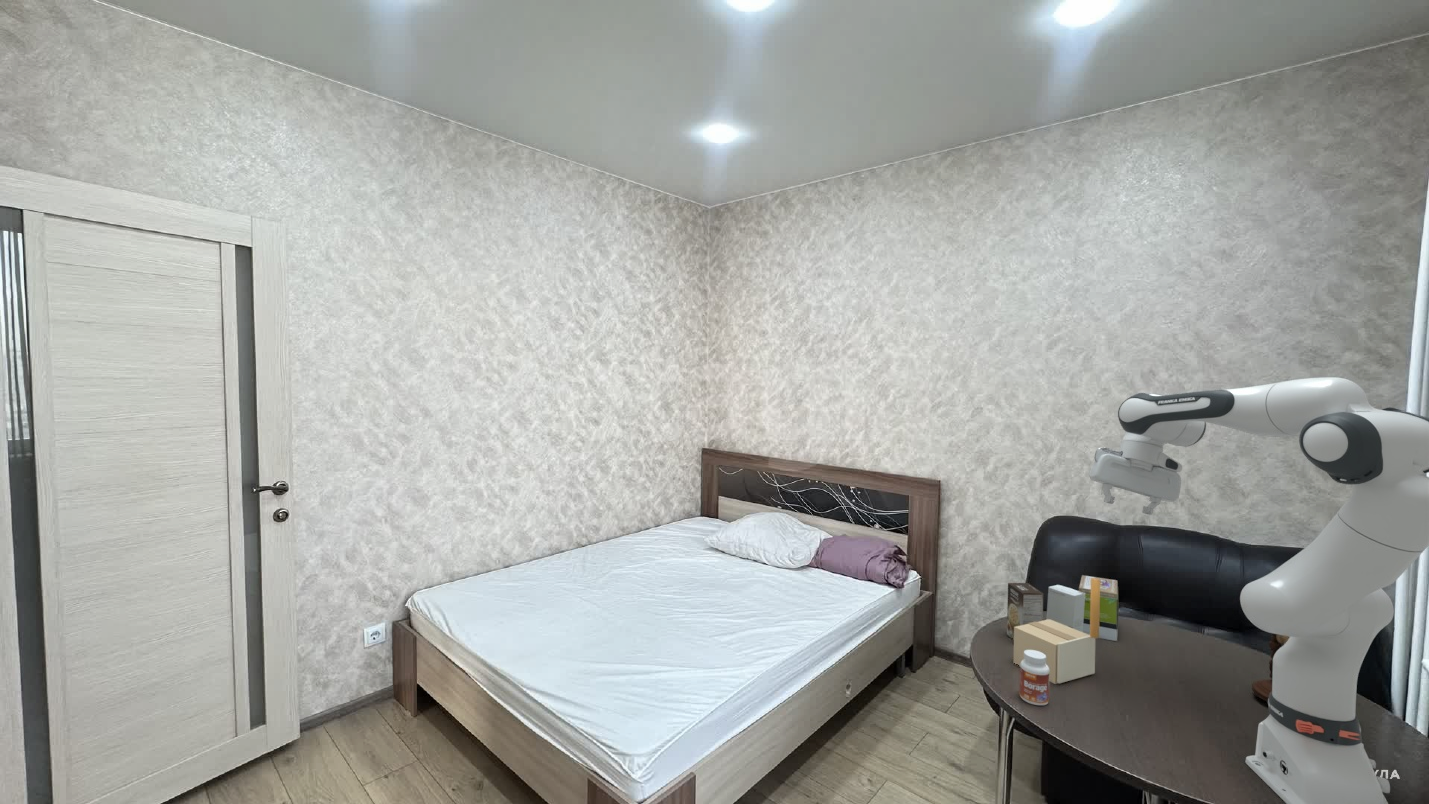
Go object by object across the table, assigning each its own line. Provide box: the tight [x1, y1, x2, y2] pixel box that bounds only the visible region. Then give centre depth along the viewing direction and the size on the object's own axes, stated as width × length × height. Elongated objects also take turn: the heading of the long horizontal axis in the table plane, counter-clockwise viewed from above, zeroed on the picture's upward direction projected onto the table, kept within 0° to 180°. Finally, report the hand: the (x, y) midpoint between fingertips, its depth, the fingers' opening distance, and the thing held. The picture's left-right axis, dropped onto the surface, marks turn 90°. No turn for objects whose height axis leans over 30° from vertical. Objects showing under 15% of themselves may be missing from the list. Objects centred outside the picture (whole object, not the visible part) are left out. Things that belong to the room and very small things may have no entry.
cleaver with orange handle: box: [1057, 577, 1100, 684], centre depth 146 cm, size 2×14×25 cm, turn 113°
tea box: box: [1078, 574, 1119, 642], centre depth 178 cm, size 15×10×15 cm
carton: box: [1013, 619, 1089, 685], centre depth 153 cm, size 12×14×10 cm
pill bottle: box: [1019, 650, 1050, 706], centre depth 137 cm, size 6×6×11 cm
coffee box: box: [1006, 582, 1044, 641], centre depth 170 cm, size 9×6×16 cm
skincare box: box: [1045, 584, 1085, 632], centre depth 172 cm, size 8×6×15 cm
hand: (1127, 508), depth 146 cm, fingers open, 8 cm apart
